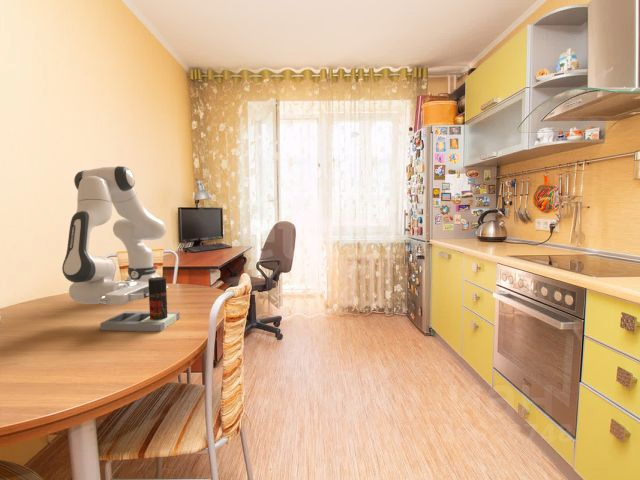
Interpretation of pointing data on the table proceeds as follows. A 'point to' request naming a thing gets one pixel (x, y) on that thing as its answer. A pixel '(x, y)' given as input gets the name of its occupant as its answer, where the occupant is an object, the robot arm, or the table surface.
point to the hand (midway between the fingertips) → (152, 293)
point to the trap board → (138, 322)
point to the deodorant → (157, 298)
